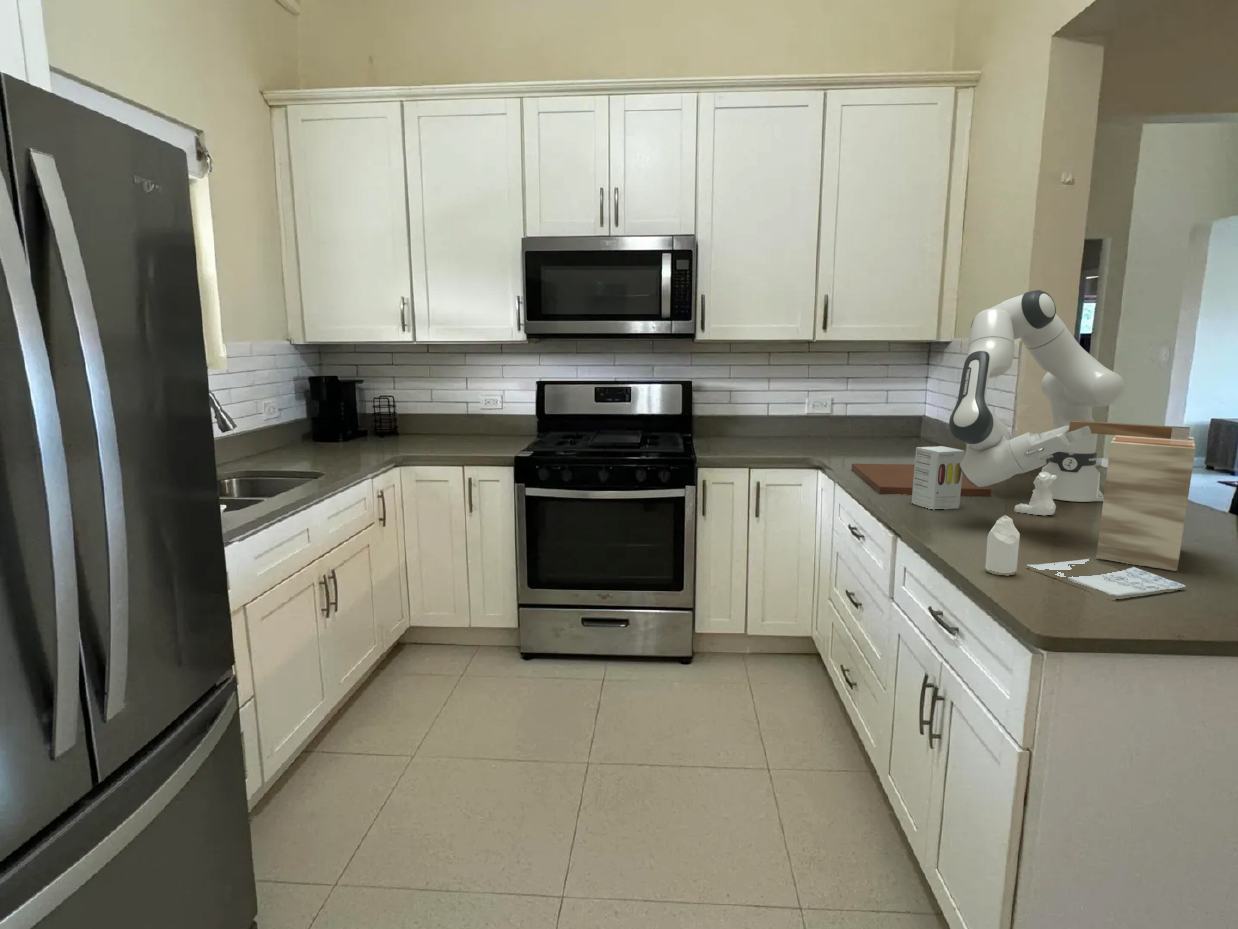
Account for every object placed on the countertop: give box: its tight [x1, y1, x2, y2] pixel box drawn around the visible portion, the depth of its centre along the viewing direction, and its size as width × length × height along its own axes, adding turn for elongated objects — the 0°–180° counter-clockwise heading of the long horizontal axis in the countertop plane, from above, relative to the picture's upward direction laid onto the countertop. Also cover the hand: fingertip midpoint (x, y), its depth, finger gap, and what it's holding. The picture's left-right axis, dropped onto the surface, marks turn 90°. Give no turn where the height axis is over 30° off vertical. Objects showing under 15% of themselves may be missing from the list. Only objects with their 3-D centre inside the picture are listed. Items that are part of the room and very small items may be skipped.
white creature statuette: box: [1013, 471, 1057, 516], centre depth 191 cm, size 10×9×12 cm
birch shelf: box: [1095, 435, 1196, 571], centre depth 154 cm, size 20×14×26 cm
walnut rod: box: [1069, 420, 1191, 441], centre depth 159 cm, size 4×22×2 cm, turn 52°
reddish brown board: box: [851, 463, 992, 498], centre depth 234 cm, size 40×3×33 cm
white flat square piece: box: [1026, 558, 1187, 596], centre depth 141 cm, size 19×20×2 cm
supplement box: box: [911, 445, 966, 511], centre depth 200 cm, size 10×9×17 cm
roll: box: [985, 515, 1021, 573], centre depth 144 cm, size 6×12×6 cm
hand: (1092, 426), depth 163 cm, fingers open, 8 cm apart
